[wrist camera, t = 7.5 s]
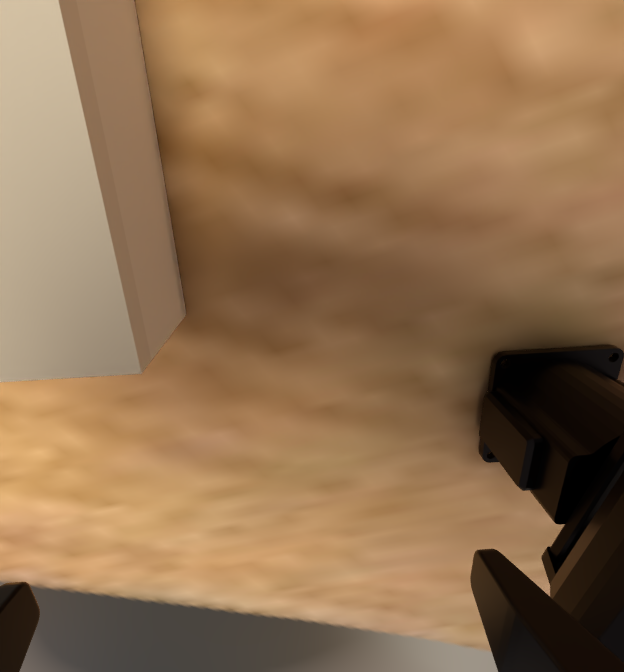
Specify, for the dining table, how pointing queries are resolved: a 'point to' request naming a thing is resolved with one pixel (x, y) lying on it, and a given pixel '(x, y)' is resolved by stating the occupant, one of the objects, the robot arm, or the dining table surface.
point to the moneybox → (80, 196)
